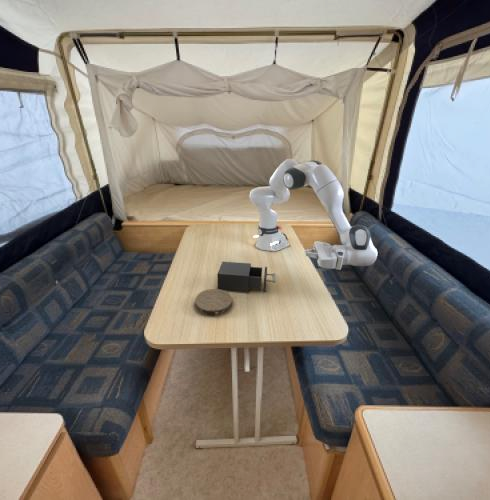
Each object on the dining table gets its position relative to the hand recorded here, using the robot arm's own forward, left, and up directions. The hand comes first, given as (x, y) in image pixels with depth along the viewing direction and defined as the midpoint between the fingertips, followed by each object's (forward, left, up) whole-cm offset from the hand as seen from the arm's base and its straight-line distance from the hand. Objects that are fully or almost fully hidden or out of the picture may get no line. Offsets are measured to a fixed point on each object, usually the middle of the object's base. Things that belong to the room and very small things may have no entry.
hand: (305, 252), depth 120 cm
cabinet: (+26, -19, -20) cm, 38 cm away
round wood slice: (+42, -9, -20) cm, 47 cm away
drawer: (+17, -13, -19) cm, 29 cm away
